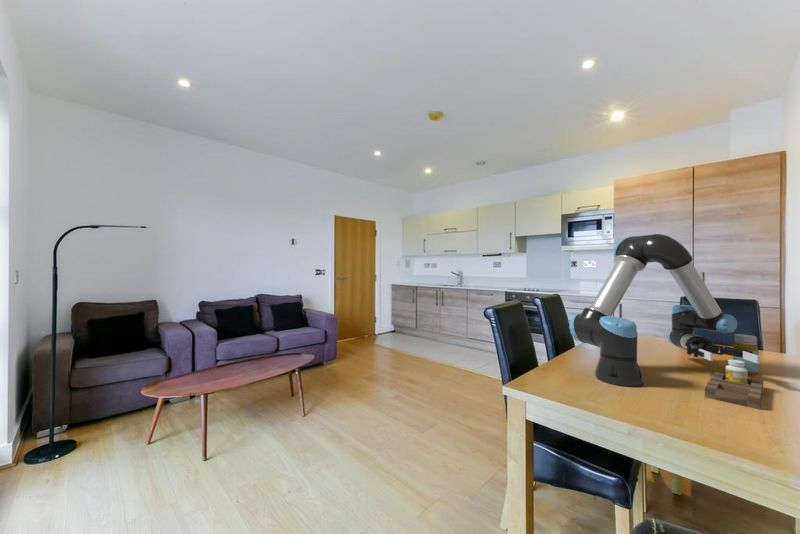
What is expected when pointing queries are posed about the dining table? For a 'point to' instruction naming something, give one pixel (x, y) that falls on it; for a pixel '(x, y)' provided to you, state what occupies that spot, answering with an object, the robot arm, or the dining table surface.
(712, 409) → the dining table surface
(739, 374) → the supplement bottle
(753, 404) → the slot rack
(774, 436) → the dining table surface
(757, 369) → the bottle
